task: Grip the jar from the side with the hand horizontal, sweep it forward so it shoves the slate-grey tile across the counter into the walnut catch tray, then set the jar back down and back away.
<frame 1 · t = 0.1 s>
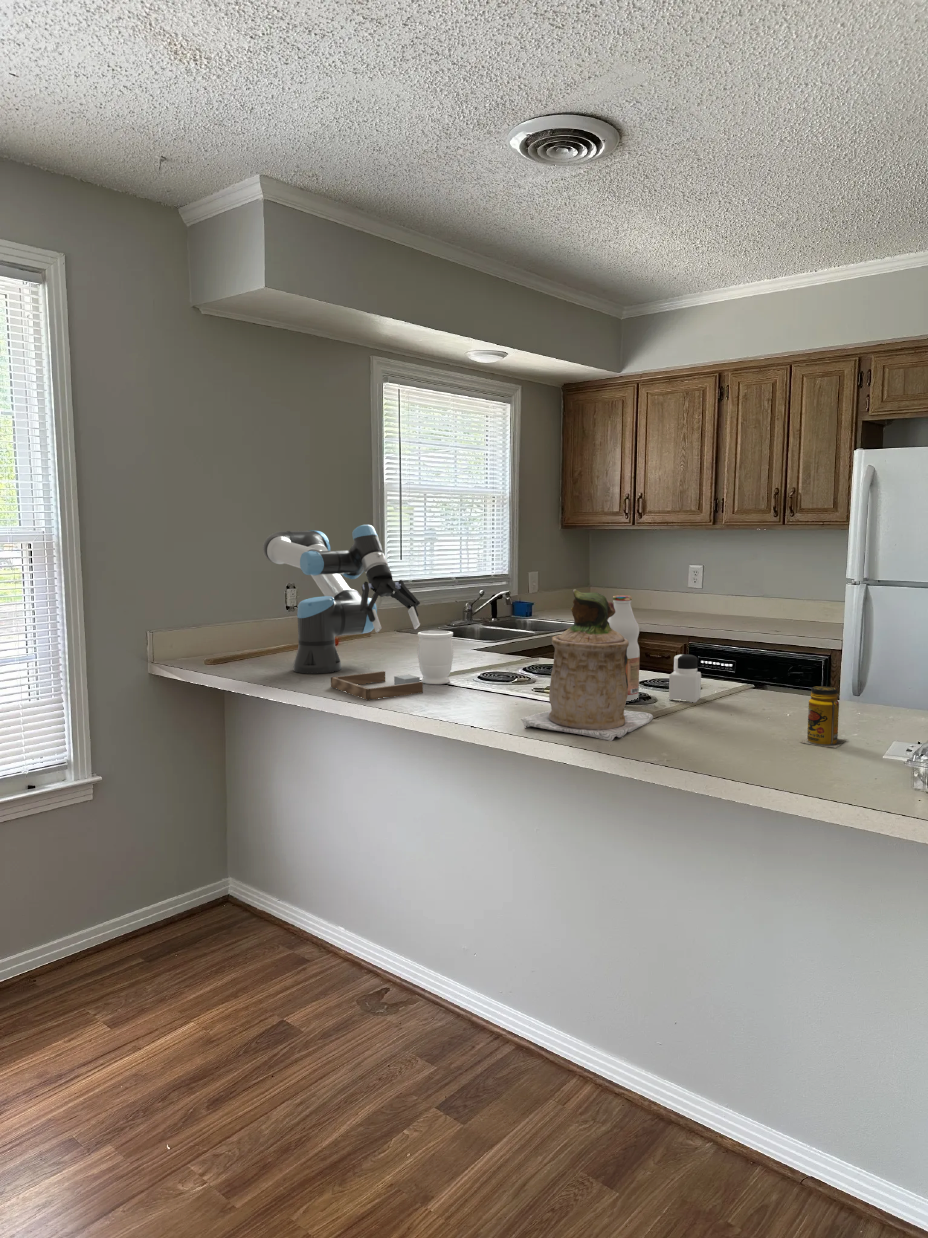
hand: (398, 628, 258), 15 cm above the table, tool tilted 35°, fingers open, 13 cm apart
jar: (435, 682, 254), on the table
condiment: (824, 743, 185), on the table
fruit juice: (620, 701, 227), on the table
cookie jar: (588, 725, 202), on the table
medicine bottle: (684, 700, 229), on the table
tile: (407, 687, 249), on the table
catch tray: (376, 690, 243), on the table
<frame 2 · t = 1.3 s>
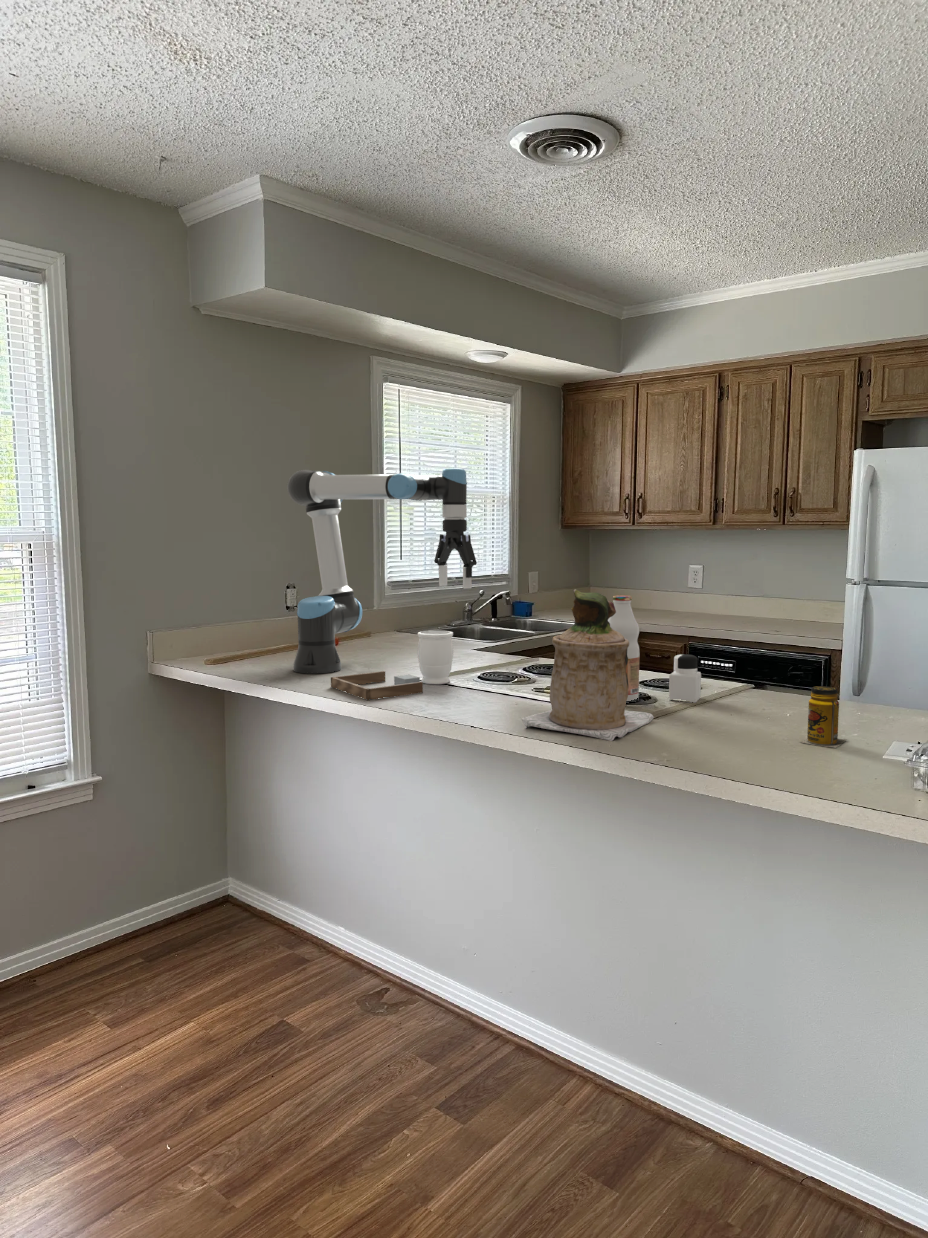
hand: (455, 587, 267), 27 cm above the table, tool pointing down, fingers open, 13 cm apart
nothing on the table moved.
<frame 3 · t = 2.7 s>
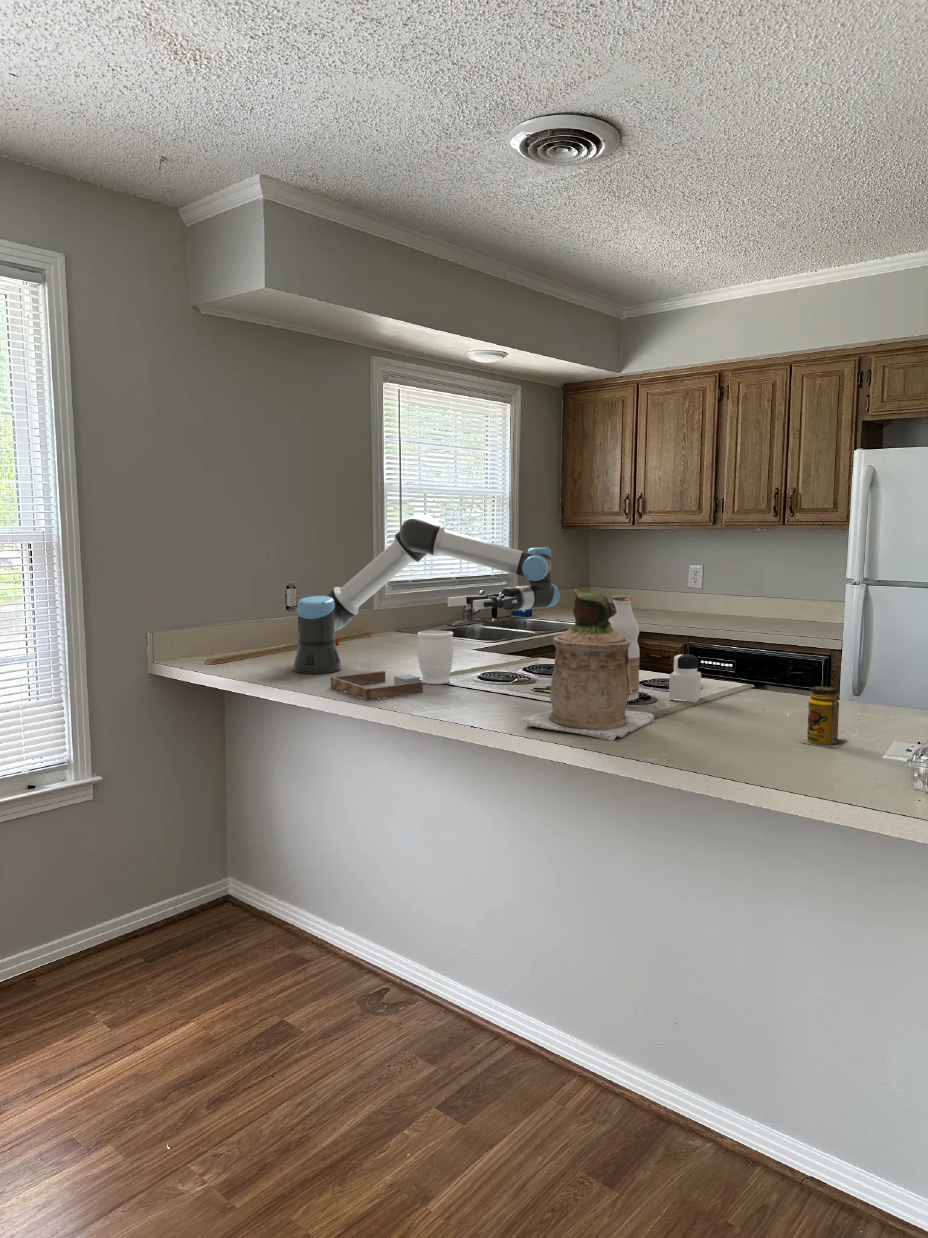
hand: (460, 603, 257), 23 cm above the table, tool horizontal, fingers open, 13 cm apart
nothing on the table moved.
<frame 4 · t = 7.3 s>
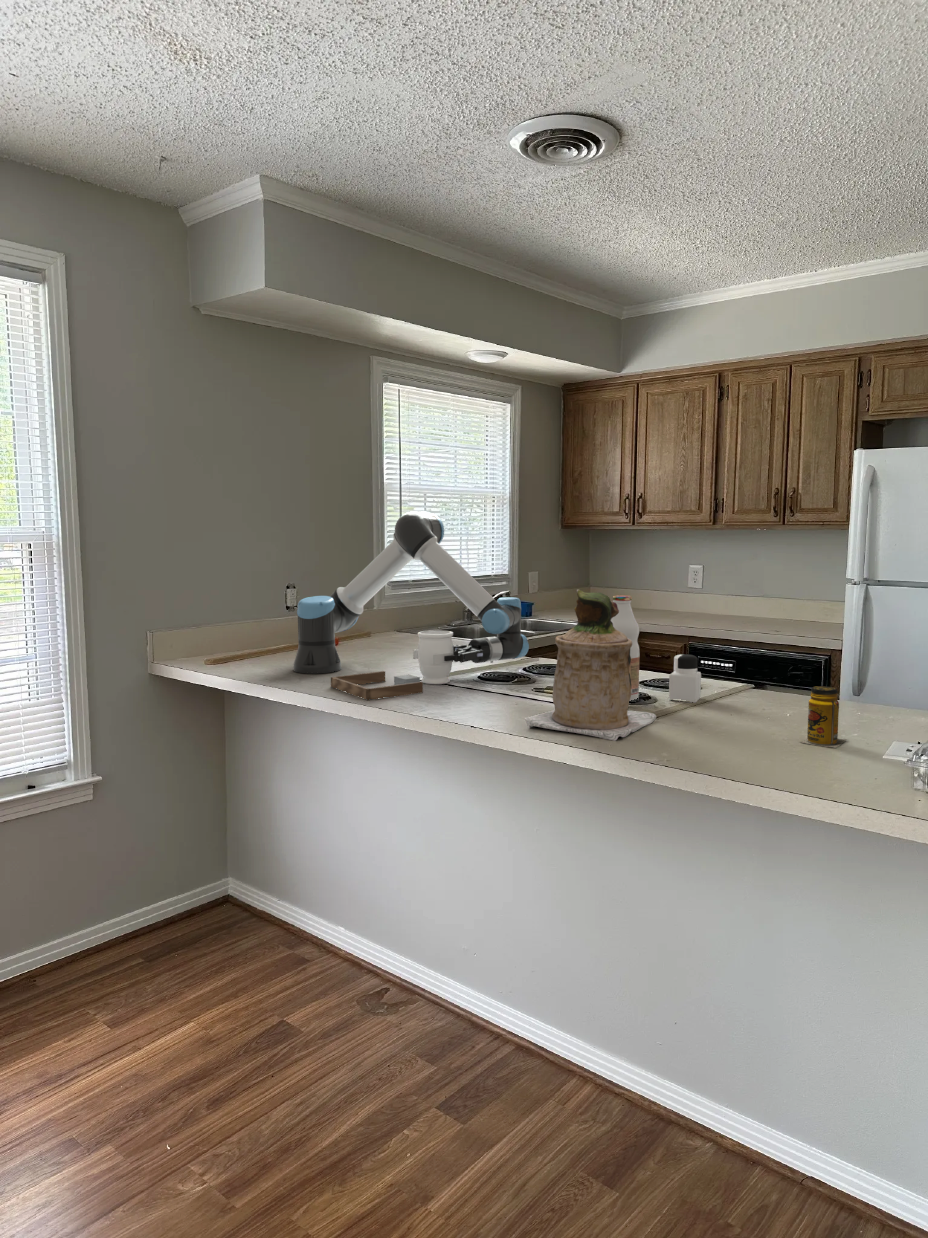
hand: (423, 656, 251), 8 cm above the table, tool horizontal, fingers closed on jar, 10 cm apart
jar: (435, 682, 254), on the table, touching gripper
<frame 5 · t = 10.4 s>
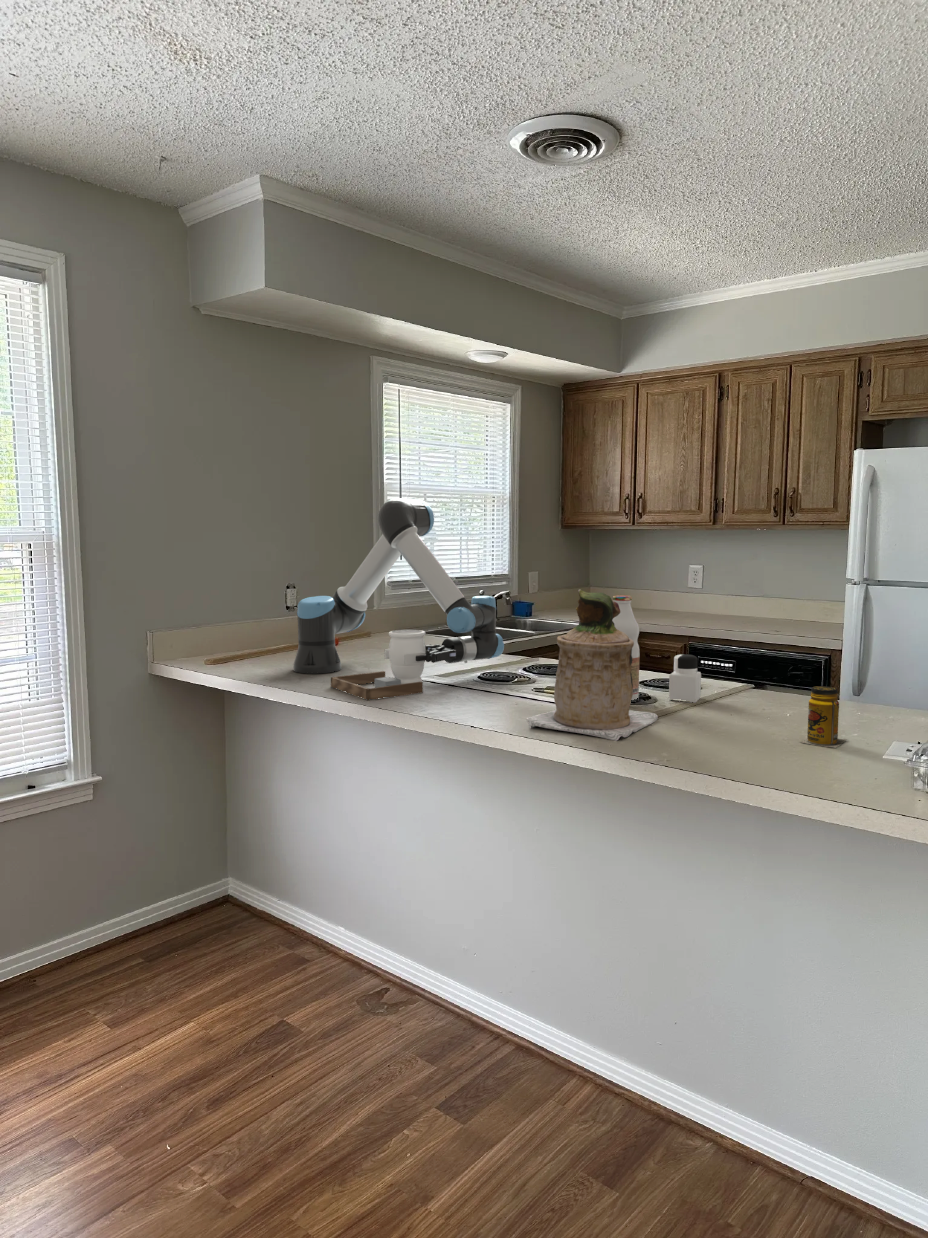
hand: (394, 656, 245), 9 cm above the table, tool horizontal, fingers closed on jar, 10 cm apart
jar: (407, 683, 248), point 1 cm above the table, touching gripper, tile
tile: (387, 689, 245), on the table, touching jar
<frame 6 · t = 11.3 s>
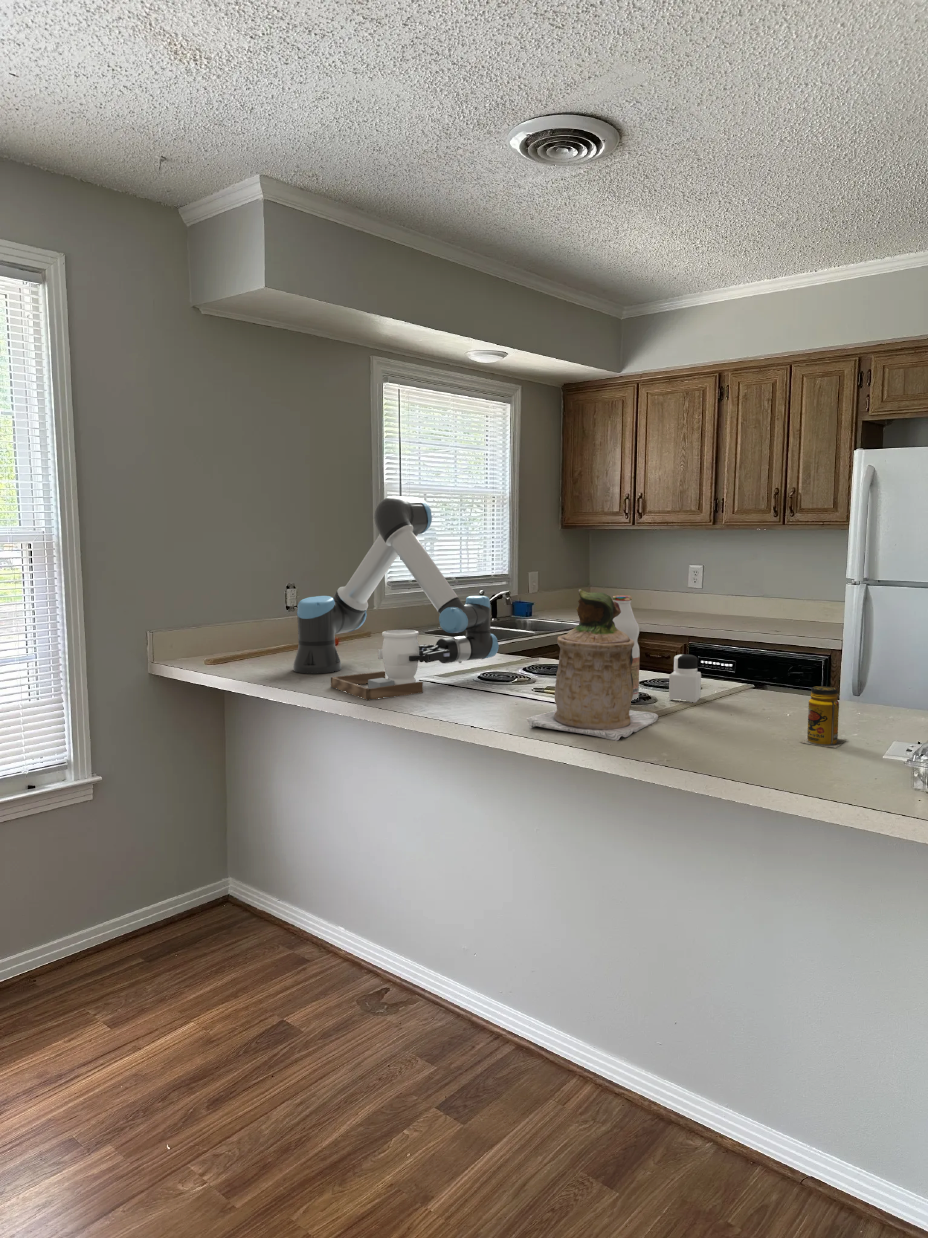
hand: (388, 656, 244), 9 cm above the table, tool horizontal, fingers closed on jar, 10 cm apart
jar: (401, 683, 247), point 1 cm above the table, touching gripper
tile: (381, 690, 244), on the table
when the fingers open (8 cm above the table, at t = 13.2 s): jar stays where it is, on the table.
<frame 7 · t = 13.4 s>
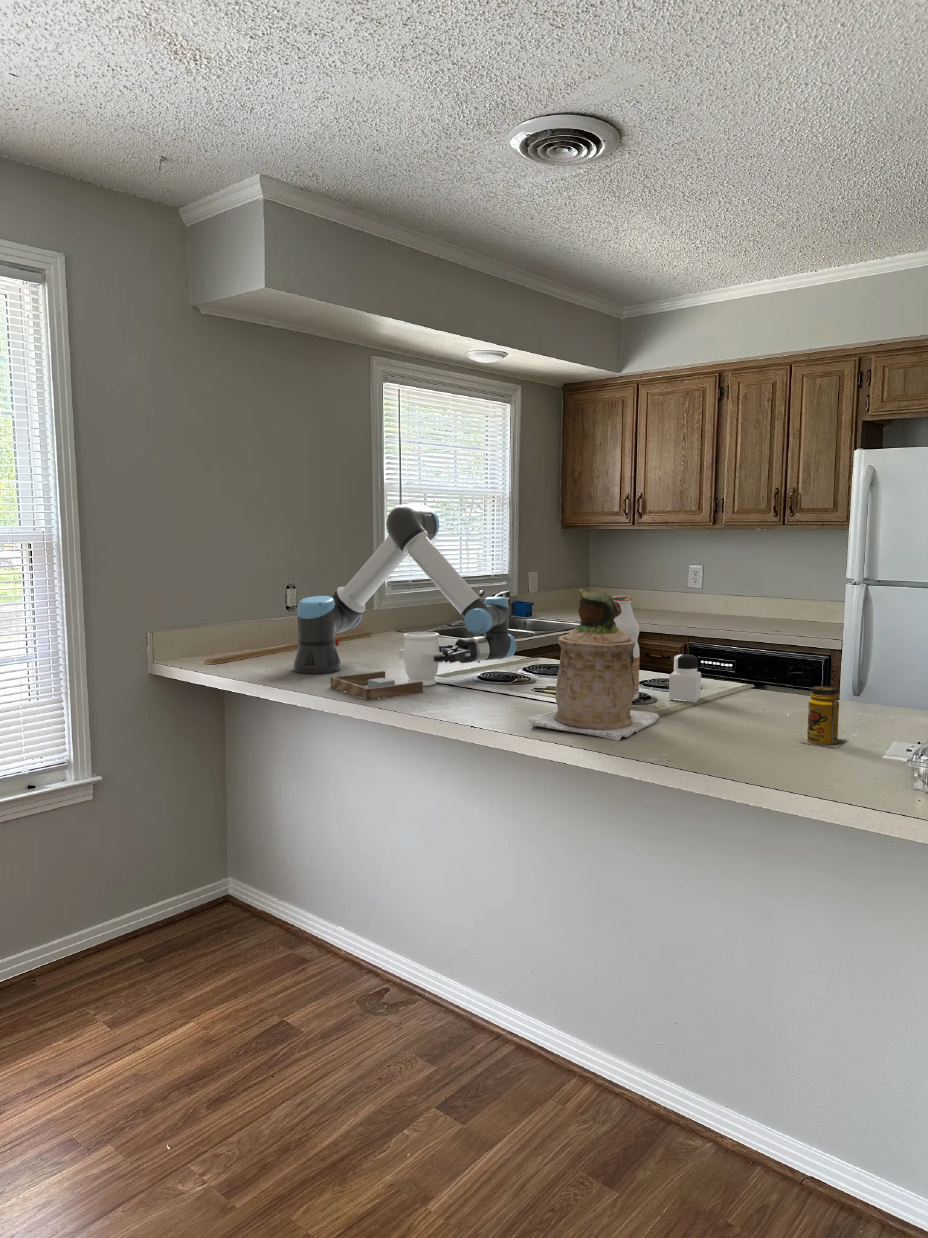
hand: (411, 656, 249), 8 cm above the table, tool horizontal, fingers open, 12 cm apart
jar: (421, 684, 252), on the table
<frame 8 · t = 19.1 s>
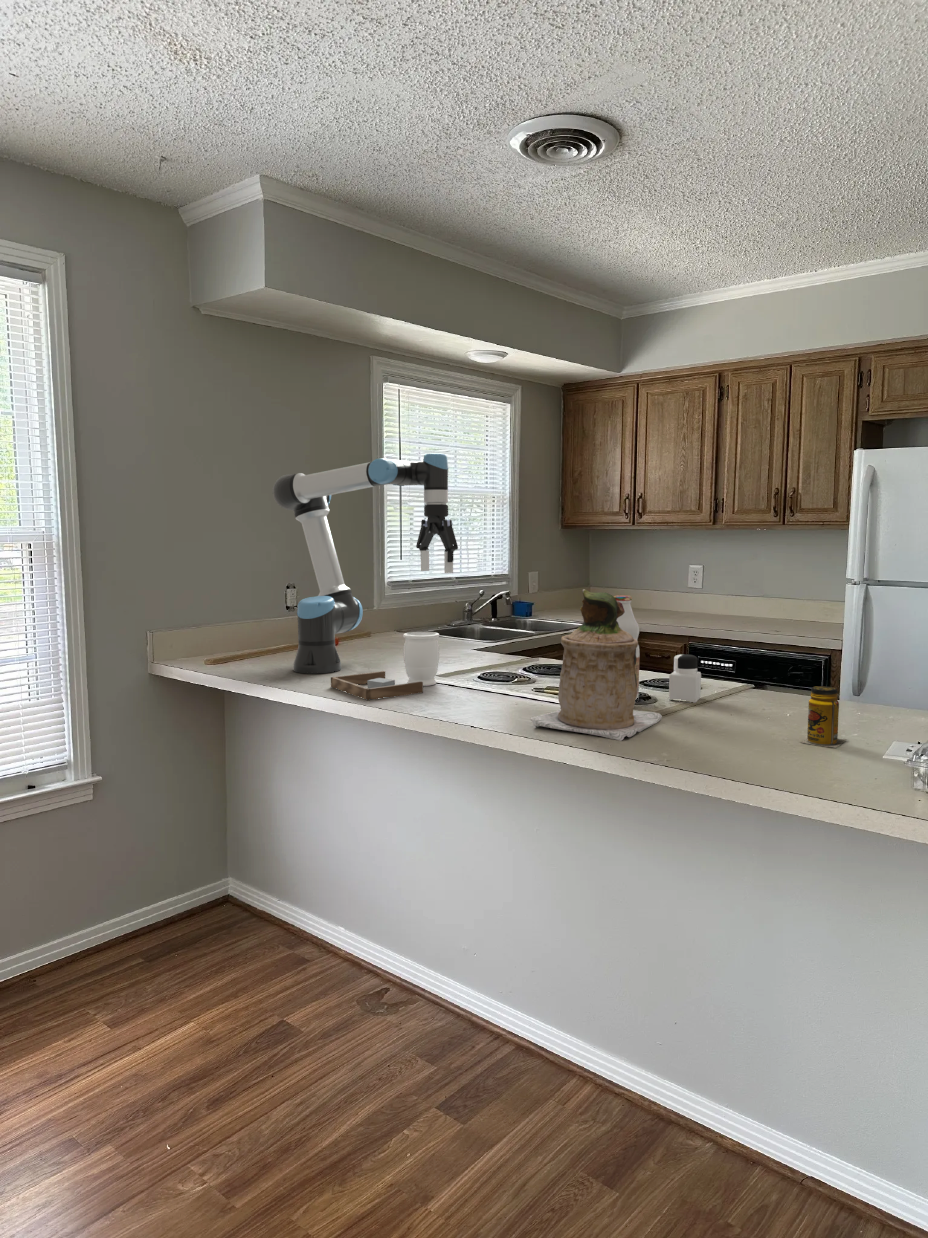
hand: (436, 572, 269), 32 cm above the table, tool pointing down, fingers open, 13 cm apart
at the end: tile inside the target area (2.3 cm from its centre), on the table; jar tilted 0°; the gripper is holding nothing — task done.
